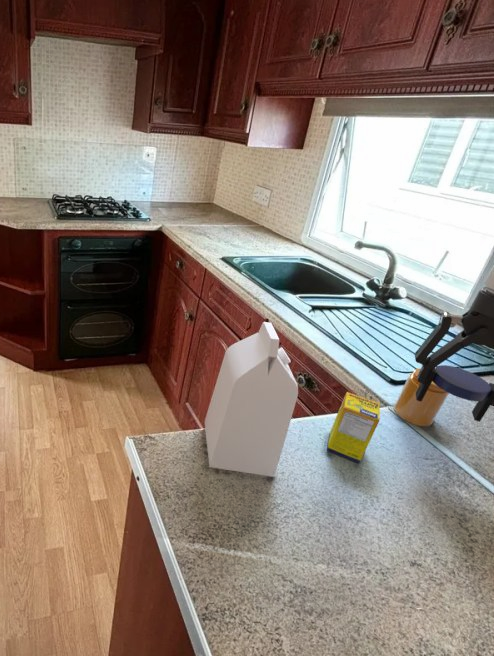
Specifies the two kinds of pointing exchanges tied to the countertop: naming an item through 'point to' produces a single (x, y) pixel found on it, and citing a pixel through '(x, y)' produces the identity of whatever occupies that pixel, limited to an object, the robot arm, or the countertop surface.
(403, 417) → the jar
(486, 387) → the lid
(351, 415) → the supplement box
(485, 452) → the countertop surface
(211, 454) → the milk
